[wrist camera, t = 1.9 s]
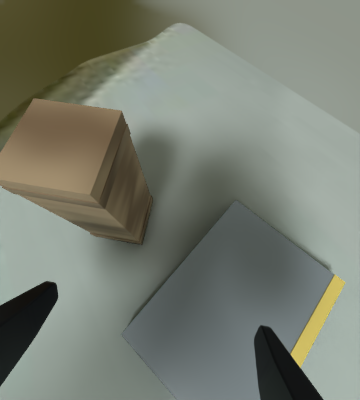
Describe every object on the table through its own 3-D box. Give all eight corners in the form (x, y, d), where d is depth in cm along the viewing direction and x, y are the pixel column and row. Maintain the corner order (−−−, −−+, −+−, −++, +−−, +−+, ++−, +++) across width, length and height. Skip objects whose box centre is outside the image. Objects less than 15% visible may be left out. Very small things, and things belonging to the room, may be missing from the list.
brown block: (142, 244, 21) (91, 197, 9) (94, 236, 21) (-18, 178, 9) (153, 199, 23) (123, 109, 11) (109, 192, 23) (33, 96, 11)
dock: (233, 451, 15) (242, 477, 13) (126, 328, 18) (120, 334, 16) (328, 282, 19) (345, 282, 17) (231, 206, 22) (236, 199, 20)
